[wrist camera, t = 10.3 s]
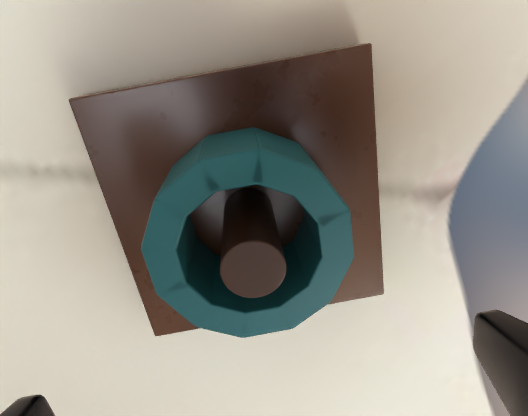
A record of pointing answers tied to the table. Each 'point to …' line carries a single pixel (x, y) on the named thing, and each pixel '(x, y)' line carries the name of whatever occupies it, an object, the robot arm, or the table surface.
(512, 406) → the robot arm
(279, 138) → the tape roll
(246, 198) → the peg stand
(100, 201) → the table surface
